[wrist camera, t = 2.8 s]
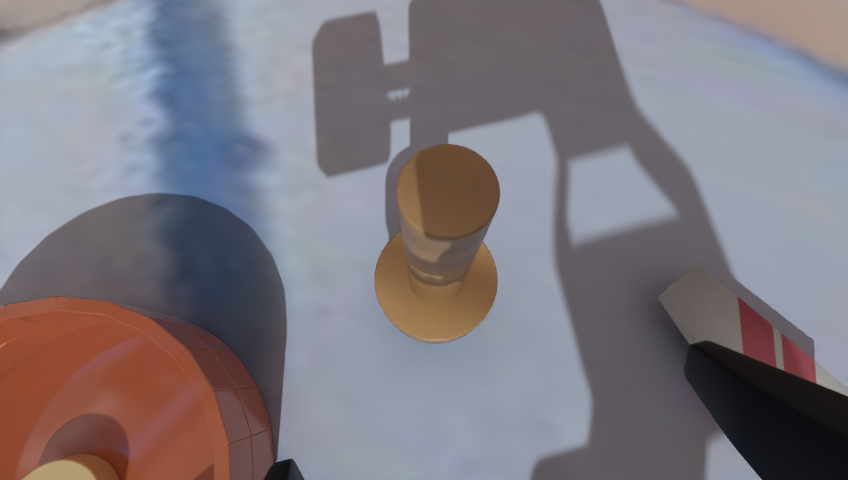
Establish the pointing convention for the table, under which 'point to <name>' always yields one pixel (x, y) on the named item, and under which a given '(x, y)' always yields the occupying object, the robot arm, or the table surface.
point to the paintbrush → (736, 326)
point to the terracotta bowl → (126, 394)
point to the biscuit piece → (74, 469)
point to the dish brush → (440, 246)
